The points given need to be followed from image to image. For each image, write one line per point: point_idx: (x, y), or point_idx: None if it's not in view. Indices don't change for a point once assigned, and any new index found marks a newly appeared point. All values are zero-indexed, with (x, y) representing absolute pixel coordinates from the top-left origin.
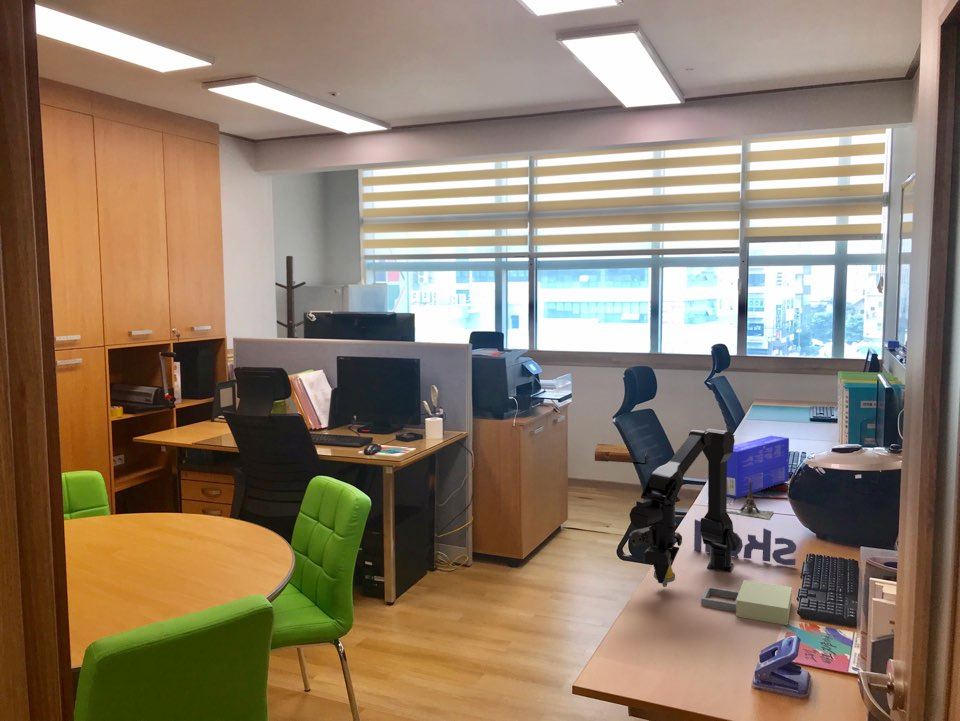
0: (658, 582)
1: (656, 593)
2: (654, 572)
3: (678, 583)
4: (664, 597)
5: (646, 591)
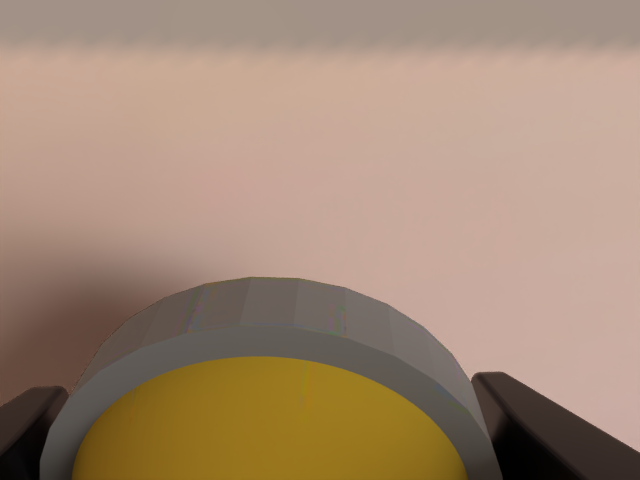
0: (26, 395)
1: (140, 249)
2: (211, 338)
3: (593, 405)
4: (62, 368)
5: (136, 99)
